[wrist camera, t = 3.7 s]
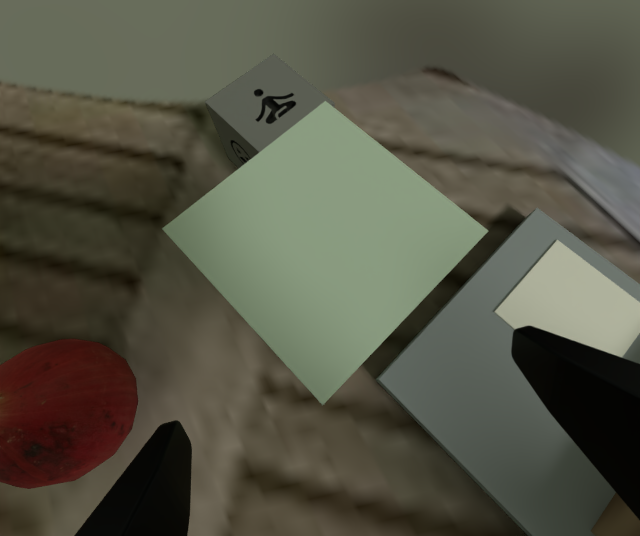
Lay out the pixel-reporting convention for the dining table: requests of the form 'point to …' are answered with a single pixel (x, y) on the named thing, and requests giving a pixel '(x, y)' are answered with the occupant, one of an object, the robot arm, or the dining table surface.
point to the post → (324, 245)
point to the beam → (617, 520)
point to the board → (518, 373)
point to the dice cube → (261, 108)
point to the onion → (62, 411)
